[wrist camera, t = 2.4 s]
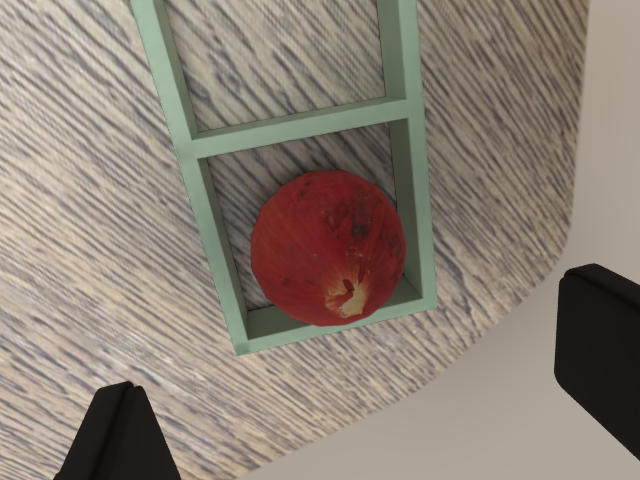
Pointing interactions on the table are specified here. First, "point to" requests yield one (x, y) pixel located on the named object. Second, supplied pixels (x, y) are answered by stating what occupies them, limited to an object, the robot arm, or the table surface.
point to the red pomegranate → (328, 248)
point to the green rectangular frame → (194, 146)
